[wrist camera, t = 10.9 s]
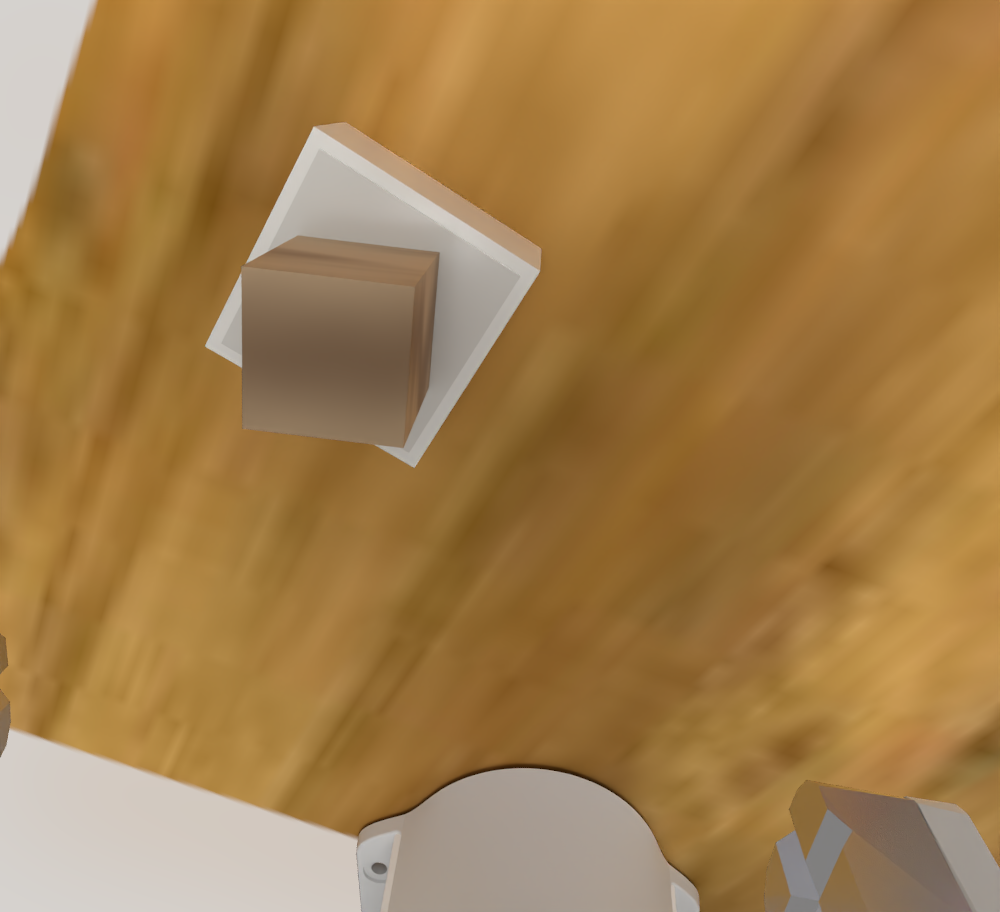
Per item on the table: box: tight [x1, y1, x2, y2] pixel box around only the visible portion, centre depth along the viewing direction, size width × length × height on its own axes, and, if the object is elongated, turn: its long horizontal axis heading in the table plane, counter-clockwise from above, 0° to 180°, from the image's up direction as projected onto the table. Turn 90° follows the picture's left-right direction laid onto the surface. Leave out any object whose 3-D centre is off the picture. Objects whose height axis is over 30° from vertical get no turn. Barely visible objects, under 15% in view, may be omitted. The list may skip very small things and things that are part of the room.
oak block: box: [241, 235, 440, 448], centre depth 29 cm, size 5×5×6 cm
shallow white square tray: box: [205, 122, 542, 468], centre depth 34 cm, size 9×9×5 cm
